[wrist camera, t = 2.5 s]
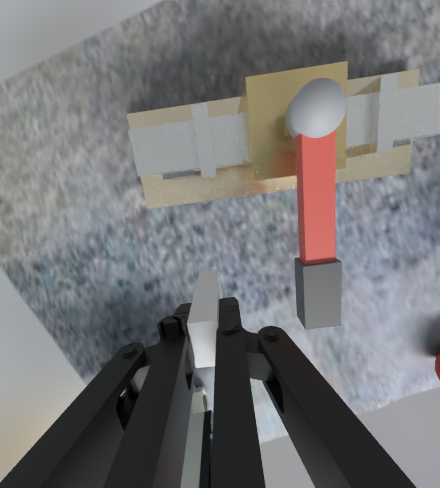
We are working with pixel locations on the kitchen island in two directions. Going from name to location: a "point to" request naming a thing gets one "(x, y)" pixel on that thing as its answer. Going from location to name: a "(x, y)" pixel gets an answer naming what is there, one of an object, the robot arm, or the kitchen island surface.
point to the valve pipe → (277, 136)
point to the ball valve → (198, 443)
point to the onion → (437, 365)
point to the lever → (317, 200)
